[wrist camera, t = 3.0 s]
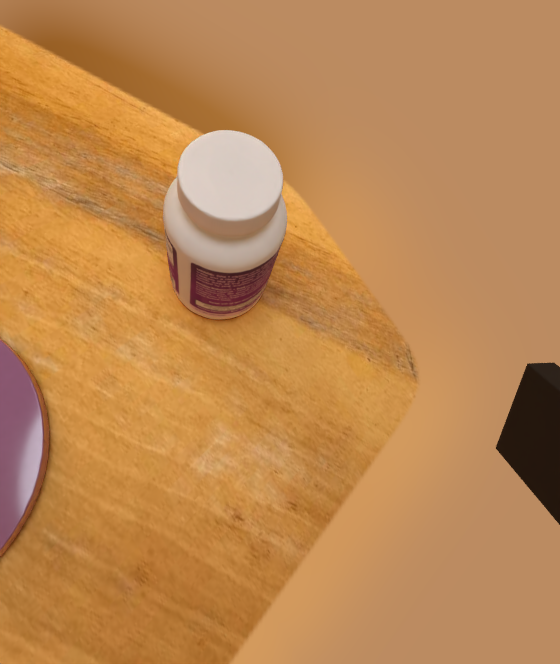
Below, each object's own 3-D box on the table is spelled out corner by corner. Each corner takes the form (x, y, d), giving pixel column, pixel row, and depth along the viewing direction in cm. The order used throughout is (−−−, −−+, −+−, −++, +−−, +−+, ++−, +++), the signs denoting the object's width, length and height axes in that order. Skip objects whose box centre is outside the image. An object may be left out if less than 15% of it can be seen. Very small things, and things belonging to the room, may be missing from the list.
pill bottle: (283, 270, 28) (329, 169, 19) (228, 340, 26) (249, 266, 17) (208, 216, 28) (218, 89, 19) (148, 282, 26) (127, 177, 17)
